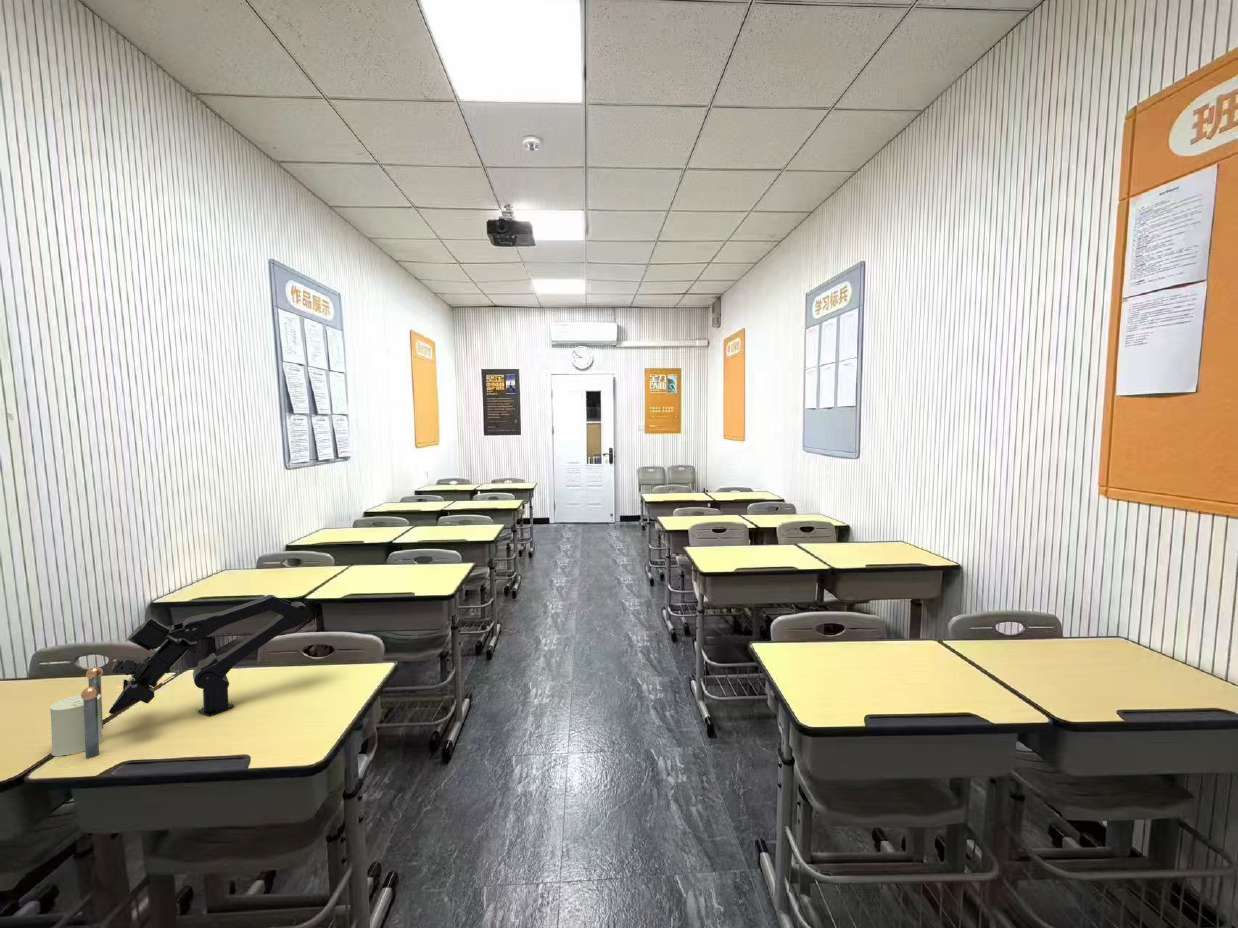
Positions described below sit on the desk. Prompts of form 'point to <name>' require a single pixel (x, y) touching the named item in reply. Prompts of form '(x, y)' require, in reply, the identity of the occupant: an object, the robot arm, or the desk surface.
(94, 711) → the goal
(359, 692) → the desk surface
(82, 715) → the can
